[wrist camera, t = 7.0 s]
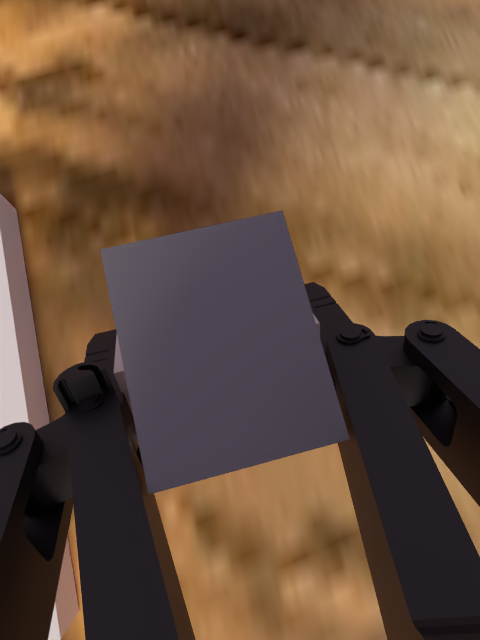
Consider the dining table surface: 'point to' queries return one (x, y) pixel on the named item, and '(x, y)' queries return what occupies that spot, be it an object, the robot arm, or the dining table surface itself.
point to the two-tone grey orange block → (220, 350)
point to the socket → (25, 379)
